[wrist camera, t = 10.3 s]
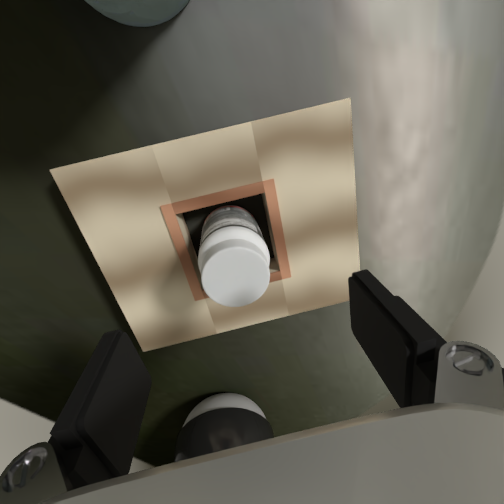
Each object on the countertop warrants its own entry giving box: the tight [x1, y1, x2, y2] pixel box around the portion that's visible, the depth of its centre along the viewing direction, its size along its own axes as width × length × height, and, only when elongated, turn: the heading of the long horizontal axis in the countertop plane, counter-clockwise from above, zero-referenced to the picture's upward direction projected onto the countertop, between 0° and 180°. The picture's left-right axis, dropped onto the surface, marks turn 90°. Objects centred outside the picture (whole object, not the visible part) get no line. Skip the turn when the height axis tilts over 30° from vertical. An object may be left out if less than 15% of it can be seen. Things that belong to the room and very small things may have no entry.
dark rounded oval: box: [174, 393, 274, 462], centre depth 25 cm, size 10×10×15 cm
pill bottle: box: [198, 205, 270, 307], centre depth 20 cm, size 5×5×8 cm
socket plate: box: [50, 98, 360, 352], centre depth 22 cm, size 16×20×3 cm
